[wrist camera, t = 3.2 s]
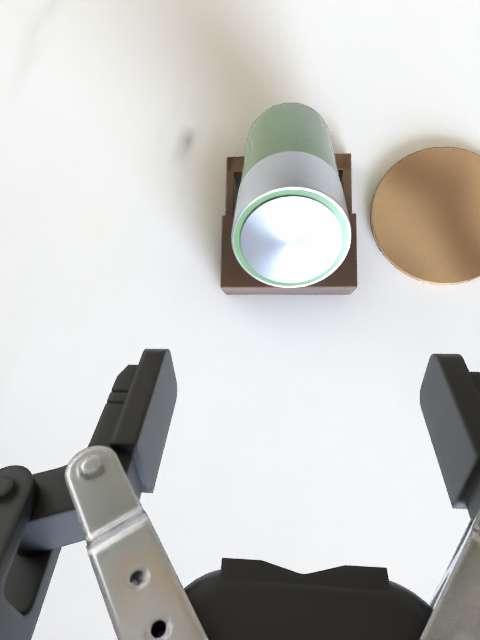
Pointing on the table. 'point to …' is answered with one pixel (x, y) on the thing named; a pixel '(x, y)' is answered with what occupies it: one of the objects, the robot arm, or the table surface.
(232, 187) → the walnut rest
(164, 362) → the robot arm
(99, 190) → the table surface
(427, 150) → the cork coaster
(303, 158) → the green can
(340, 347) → the table surface
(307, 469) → the table surface
